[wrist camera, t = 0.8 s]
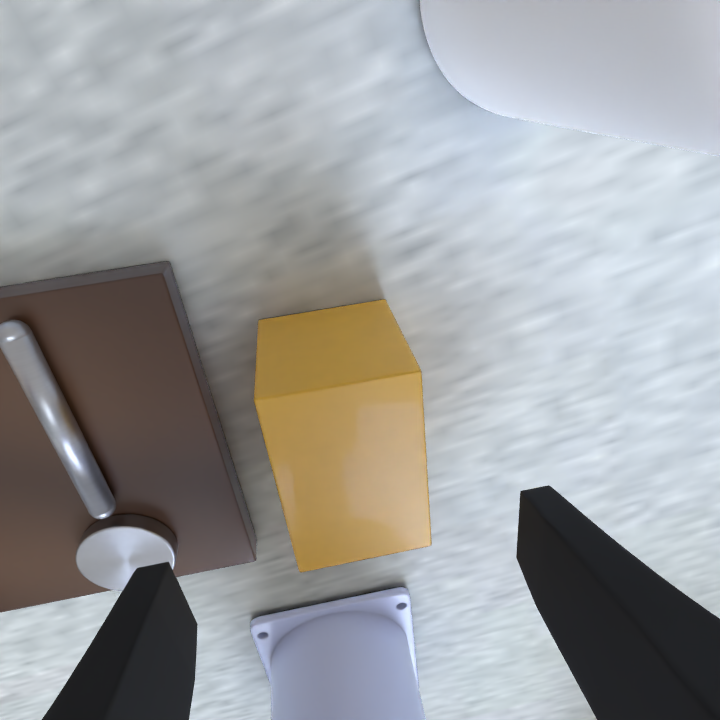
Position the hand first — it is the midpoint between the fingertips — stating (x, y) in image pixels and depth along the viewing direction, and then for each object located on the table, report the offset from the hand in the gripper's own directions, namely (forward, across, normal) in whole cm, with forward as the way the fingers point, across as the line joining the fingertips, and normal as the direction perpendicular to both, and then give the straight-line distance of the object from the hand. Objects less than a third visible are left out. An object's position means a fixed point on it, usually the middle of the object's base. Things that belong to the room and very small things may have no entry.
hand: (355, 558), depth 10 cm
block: (+9, 0, +2) cm, 9 cm away
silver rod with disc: (+8, +9, +3) cm, 12 cm away
